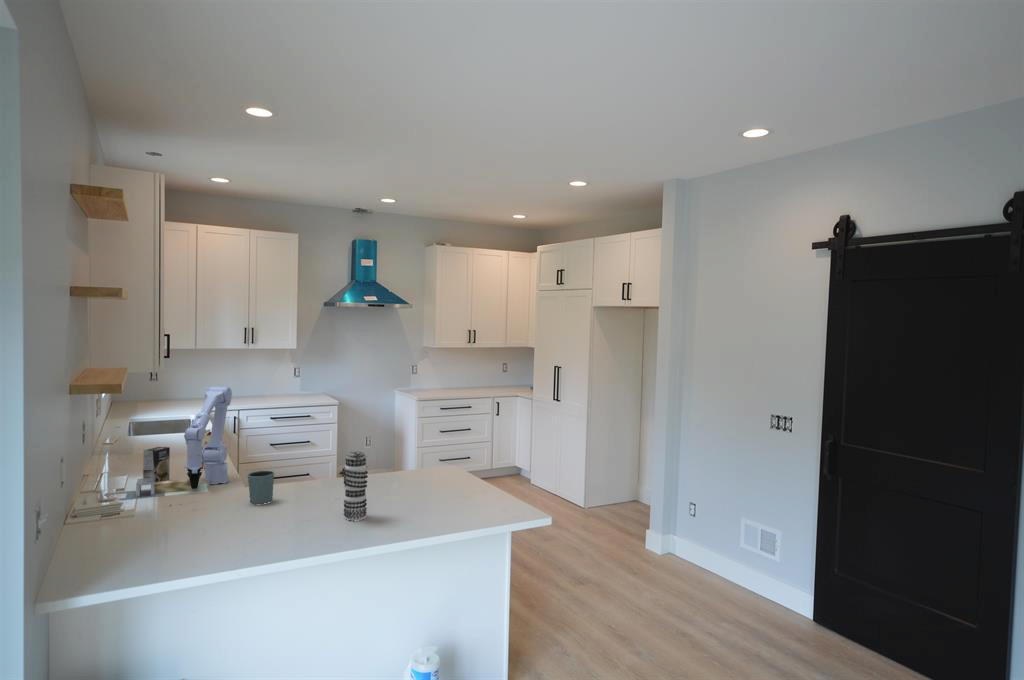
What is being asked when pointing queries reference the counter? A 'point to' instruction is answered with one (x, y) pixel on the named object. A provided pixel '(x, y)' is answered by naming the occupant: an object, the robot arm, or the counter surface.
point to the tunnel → (145, 482)
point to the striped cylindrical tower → (355, 486)
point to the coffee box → (157, 463)
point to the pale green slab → (148, 494)
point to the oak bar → (172, 486)
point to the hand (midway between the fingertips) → (194, 486)
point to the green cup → (261, 486)
